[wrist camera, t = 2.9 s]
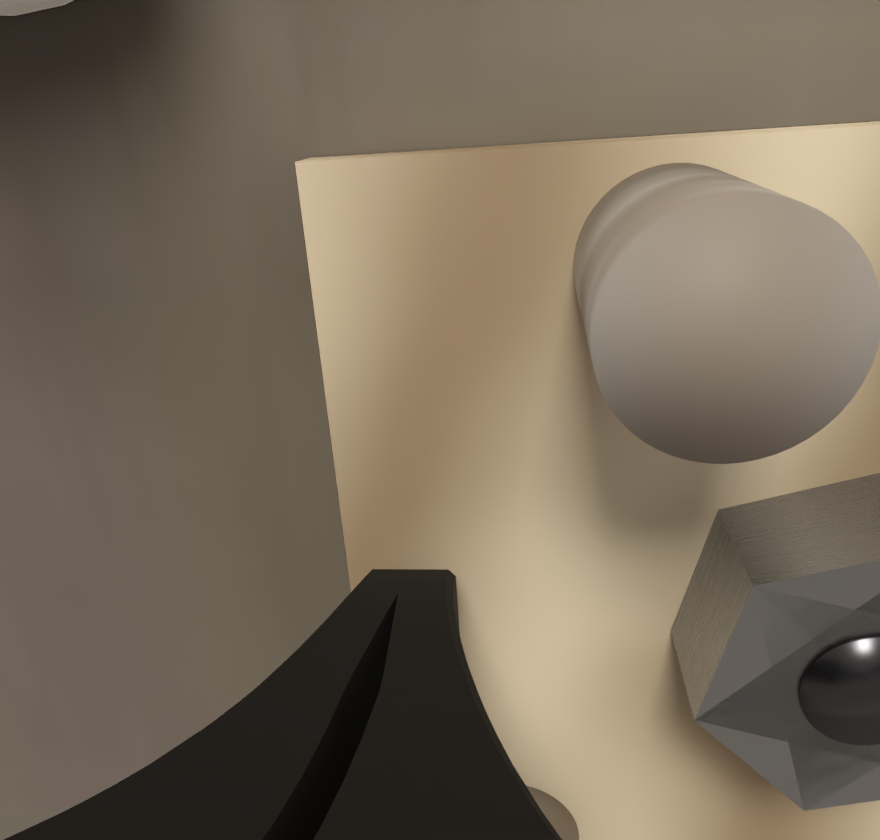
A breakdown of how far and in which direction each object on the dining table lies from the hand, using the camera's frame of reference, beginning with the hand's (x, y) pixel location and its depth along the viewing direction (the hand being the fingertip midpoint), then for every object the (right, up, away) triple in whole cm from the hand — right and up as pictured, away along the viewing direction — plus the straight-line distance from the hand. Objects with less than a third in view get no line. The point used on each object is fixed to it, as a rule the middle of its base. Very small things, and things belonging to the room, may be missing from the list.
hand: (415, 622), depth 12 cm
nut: (+6, 0, 0) cm, 6 cm away
